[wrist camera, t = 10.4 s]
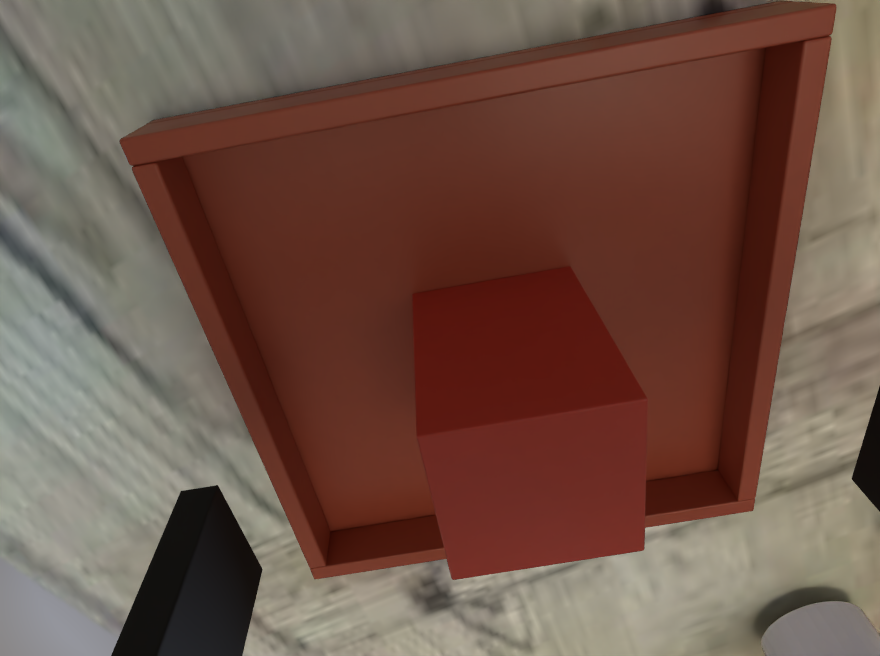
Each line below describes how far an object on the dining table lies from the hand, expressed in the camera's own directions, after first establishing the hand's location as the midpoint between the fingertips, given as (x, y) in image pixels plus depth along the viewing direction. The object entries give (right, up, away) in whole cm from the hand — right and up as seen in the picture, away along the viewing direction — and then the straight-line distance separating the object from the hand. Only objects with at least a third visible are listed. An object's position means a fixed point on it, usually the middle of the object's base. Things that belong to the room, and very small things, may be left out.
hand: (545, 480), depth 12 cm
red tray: (0, +3, +6) cm, 7 cm away
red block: (0, +3, +6) cm, 6 cm away
